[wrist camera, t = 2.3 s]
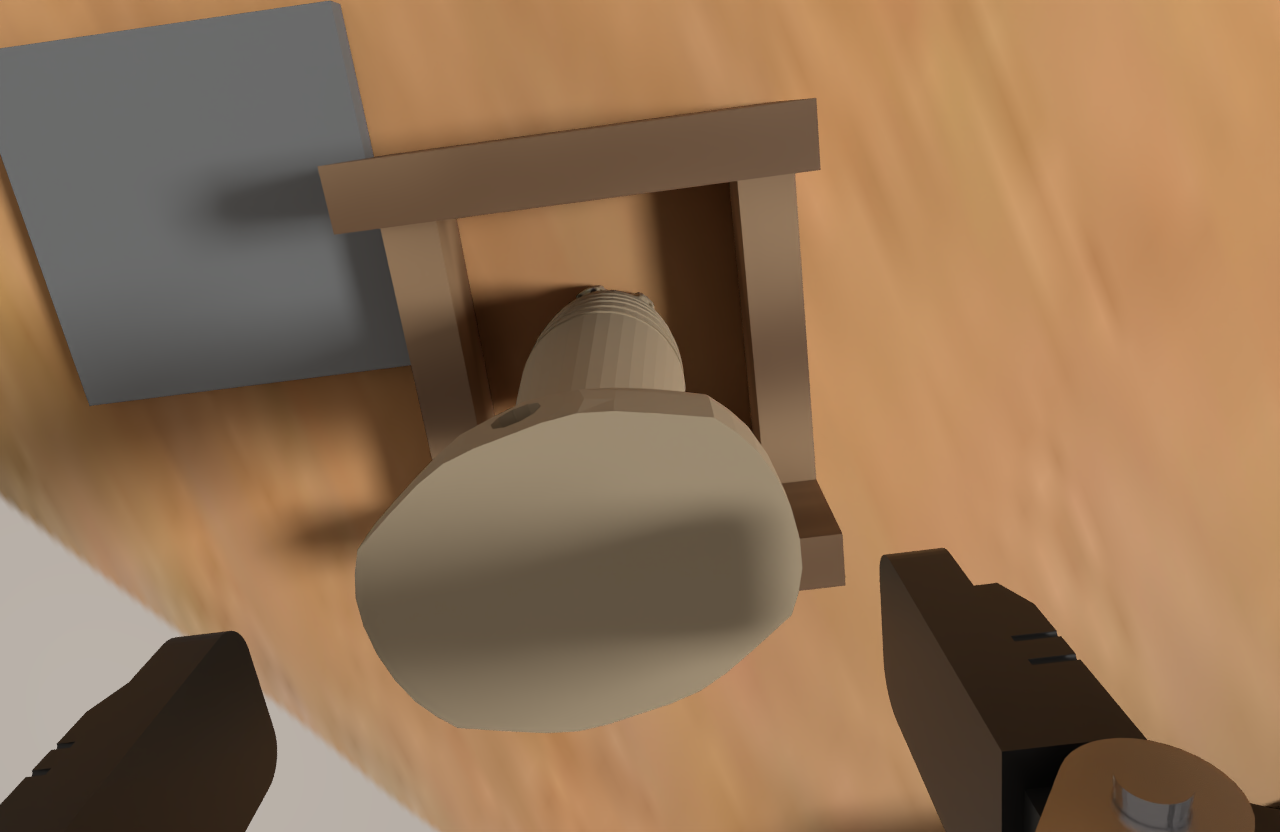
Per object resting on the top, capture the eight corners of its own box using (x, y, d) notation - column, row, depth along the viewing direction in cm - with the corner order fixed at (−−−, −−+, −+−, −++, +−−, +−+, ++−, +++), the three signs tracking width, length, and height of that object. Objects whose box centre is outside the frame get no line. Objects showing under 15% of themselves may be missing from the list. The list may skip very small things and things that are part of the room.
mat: (-14, 55, 24) (-36, 53, 23) (339, 4, 24) (329, 0, 23) (104, 397, 27) (89, 405, 27) (417, 358, 27) (411, 365, 26)
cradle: (391, 154, 25) (317, 166, 19) (775, 101, 24) (816, 98, 19) (471, 530, 29) (429, 632, 23) (804, 491, 28) (845, 585, 23)
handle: (482, 299, 26) (296, 516, 12) (681, 219, 26) (732, 350, 11) (546, 438, 28) (448, 777, 14) (736, 366, 27) (842, 646, 13)
